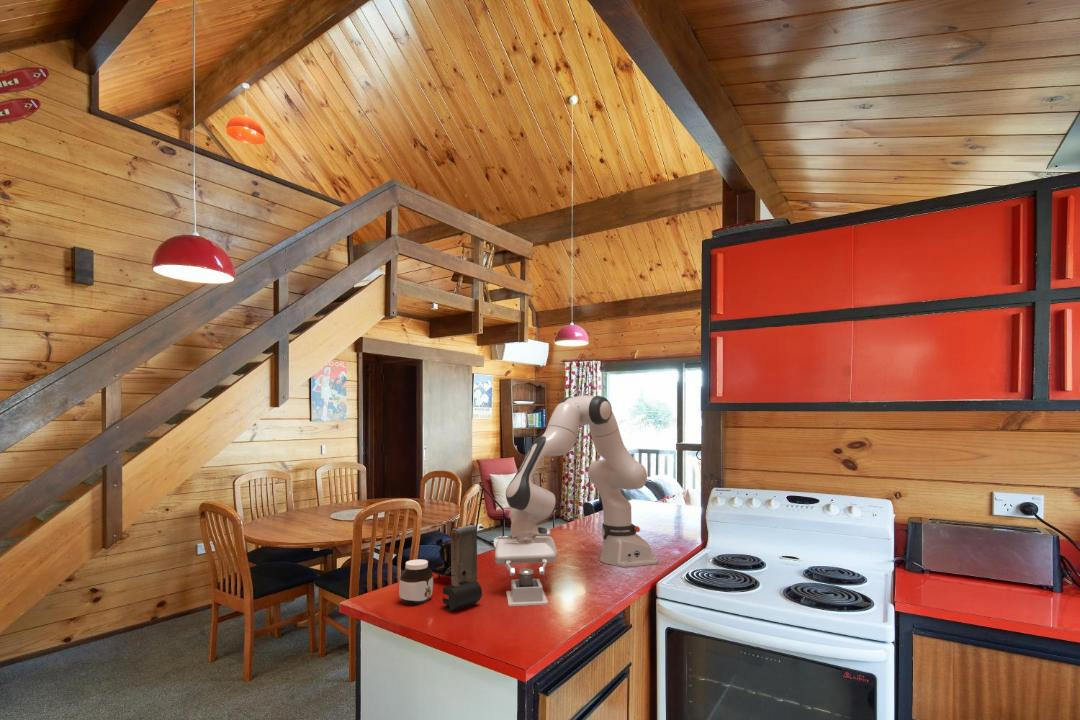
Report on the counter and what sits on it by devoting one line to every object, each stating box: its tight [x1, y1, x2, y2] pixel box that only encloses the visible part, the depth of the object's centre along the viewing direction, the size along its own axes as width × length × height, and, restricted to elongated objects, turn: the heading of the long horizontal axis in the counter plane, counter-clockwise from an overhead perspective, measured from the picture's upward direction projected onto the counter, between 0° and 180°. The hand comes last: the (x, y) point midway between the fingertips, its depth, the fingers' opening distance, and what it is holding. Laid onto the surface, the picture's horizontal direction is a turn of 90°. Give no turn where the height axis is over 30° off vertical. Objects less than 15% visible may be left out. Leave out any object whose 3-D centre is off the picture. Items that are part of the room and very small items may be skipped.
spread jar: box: [398, 559, 434, 606], centre depth 169 cm, size 12×11×12 cm
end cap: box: [442, 581, 483, 612], centre depth 162 cm, size 10×7×7 cm
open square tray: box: [505, 578, 549, 607], centre depth 169 cm, size 12×12×5 cm
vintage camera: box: [430, 522, 478, 586], centre depth 186 cm, size 10×15×20 cm, turn 54°
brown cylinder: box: [518, 567, 534, 587], centre depth 170 cm, size 4×4×8 cm
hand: (527, 574), depth 170 cm, fingers open, 8 cm apart
